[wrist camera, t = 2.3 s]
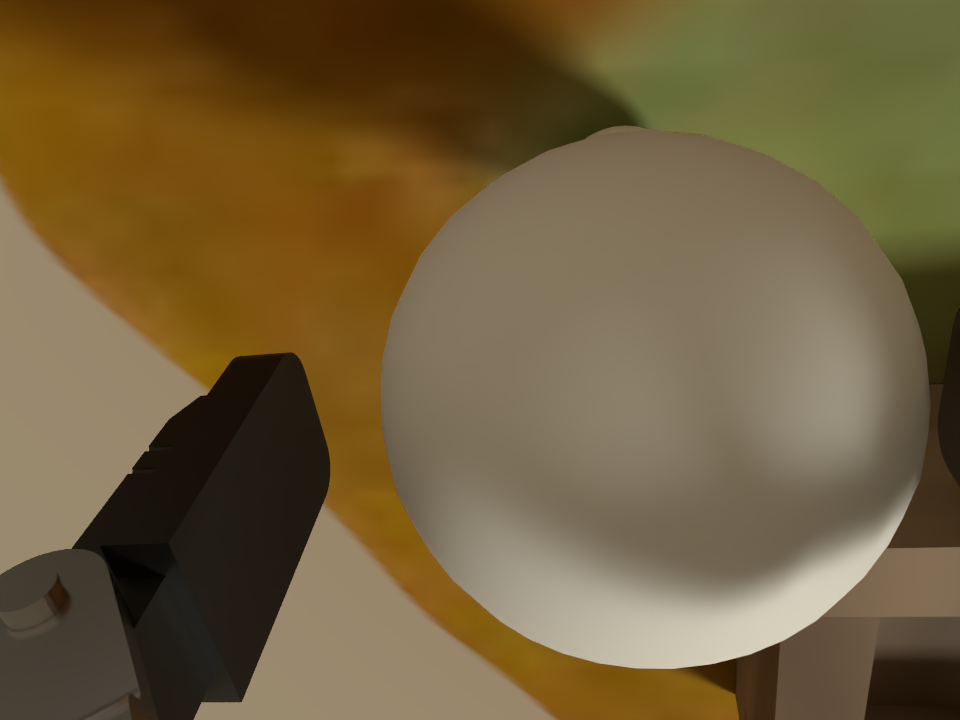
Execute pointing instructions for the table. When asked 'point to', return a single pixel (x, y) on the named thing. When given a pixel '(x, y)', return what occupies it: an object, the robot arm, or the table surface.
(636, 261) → the lightbulb
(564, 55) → the table surface
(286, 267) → the table surface
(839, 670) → the socket block
